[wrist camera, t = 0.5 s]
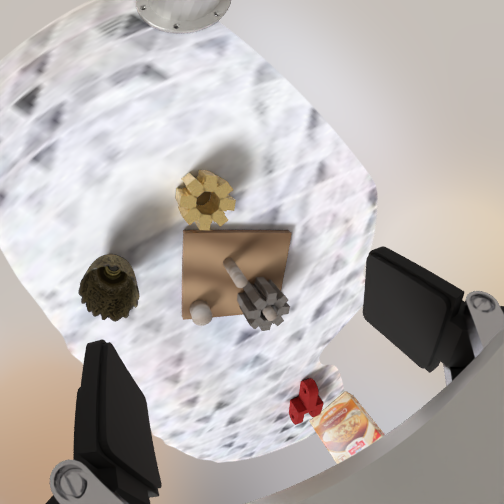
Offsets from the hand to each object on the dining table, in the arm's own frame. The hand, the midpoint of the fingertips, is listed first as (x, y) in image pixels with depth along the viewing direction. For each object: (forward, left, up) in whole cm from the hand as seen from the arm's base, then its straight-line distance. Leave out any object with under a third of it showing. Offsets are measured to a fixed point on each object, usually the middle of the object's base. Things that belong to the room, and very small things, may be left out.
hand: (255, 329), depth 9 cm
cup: (+12, -8, -30) cm, 33 cm away
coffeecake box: (+64, +46, -30) cm, 84 cm away
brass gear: (+2, +4, -30) cm, 30 cm away
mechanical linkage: (+51, +32, -30) cm, 67 cm away
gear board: (+14, +10, -30) cm, 34 cm away
